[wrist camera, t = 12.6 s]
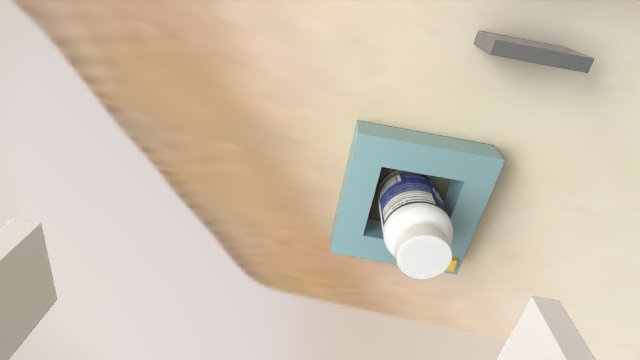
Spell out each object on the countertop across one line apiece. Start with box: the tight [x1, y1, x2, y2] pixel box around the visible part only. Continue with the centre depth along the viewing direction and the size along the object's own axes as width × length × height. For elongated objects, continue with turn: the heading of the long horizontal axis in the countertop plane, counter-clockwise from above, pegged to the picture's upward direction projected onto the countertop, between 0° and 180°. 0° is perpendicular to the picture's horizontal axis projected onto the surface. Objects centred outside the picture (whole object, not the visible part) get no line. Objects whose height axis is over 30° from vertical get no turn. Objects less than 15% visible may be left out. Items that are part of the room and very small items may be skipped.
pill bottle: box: [378, 170, 453, 279], centre depth 34 cm, size 5×5×10 cm
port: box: [330, 120, 505, 274], centre depth 37 cm, size 12×12×4 cm
